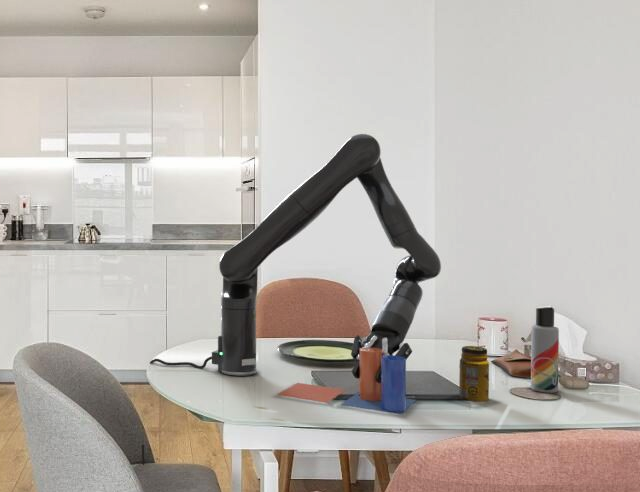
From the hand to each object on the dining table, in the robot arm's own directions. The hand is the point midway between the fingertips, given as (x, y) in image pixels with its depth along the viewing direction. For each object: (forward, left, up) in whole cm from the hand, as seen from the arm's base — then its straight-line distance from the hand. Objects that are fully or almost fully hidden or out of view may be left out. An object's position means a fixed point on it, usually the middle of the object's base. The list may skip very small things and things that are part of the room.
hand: (366, 378), depth 161 cm
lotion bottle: (+32, +34, -6) cm, 47 cm away
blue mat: (+3, -1, -5) cm, 6 cm away
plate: (-24, +41, -6) cm, 47 cm away
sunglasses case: (+24, +53, -6) cm, 58 cm away
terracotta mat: (-13, -1, -5) cm, 14 cm away
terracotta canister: (0, +2, -5) cm, 5 cm away
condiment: (+19, +14, -6) cm, 24 cm away
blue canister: (+7, -4, -5) cm, 9 cm away
